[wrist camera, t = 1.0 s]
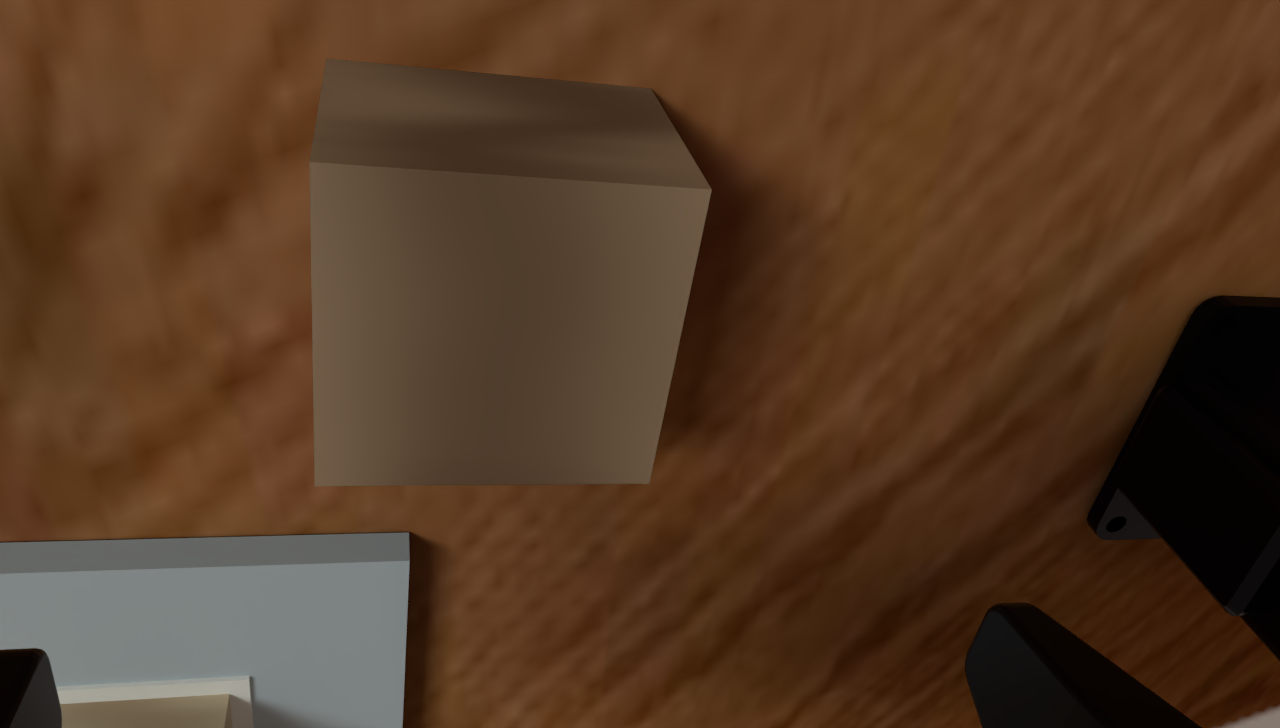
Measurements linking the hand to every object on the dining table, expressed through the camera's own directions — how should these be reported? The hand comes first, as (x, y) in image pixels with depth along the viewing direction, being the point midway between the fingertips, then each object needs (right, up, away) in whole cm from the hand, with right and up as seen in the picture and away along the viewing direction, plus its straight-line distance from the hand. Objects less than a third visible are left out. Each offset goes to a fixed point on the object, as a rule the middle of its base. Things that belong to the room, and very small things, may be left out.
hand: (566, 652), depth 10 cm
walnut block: (-2, +5, +7) cm, 9 cm away
